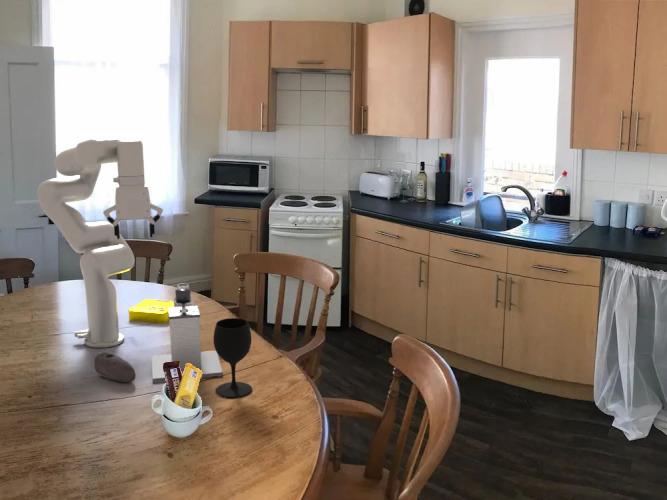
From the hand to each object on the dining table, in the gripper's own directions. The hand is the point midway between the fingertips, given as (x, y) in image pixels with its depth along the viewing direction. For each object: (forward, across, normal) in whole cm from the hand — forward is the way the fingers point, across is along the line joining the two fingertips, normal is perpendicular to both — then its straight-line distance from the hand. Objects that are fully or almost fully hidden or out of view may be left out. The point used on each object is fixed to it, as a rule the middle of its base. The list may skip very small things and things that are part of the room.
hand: (134, 237), depth 223 cm
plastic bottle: (+38, +14, +8) cm, 42 cm away
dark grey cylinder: (+33, +13, -13) cm, 38 cm away
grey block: (+37, +13, -12) cm, 41 cm away
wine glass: (+38, +25, -33) cm, 57 cm away
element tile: (+39, +5, +39) cm, 56 cm away
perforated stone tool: (+39, -7, -17) cm, 43 cm away
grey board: (+38, +13, -13) cm, 42 cm away
